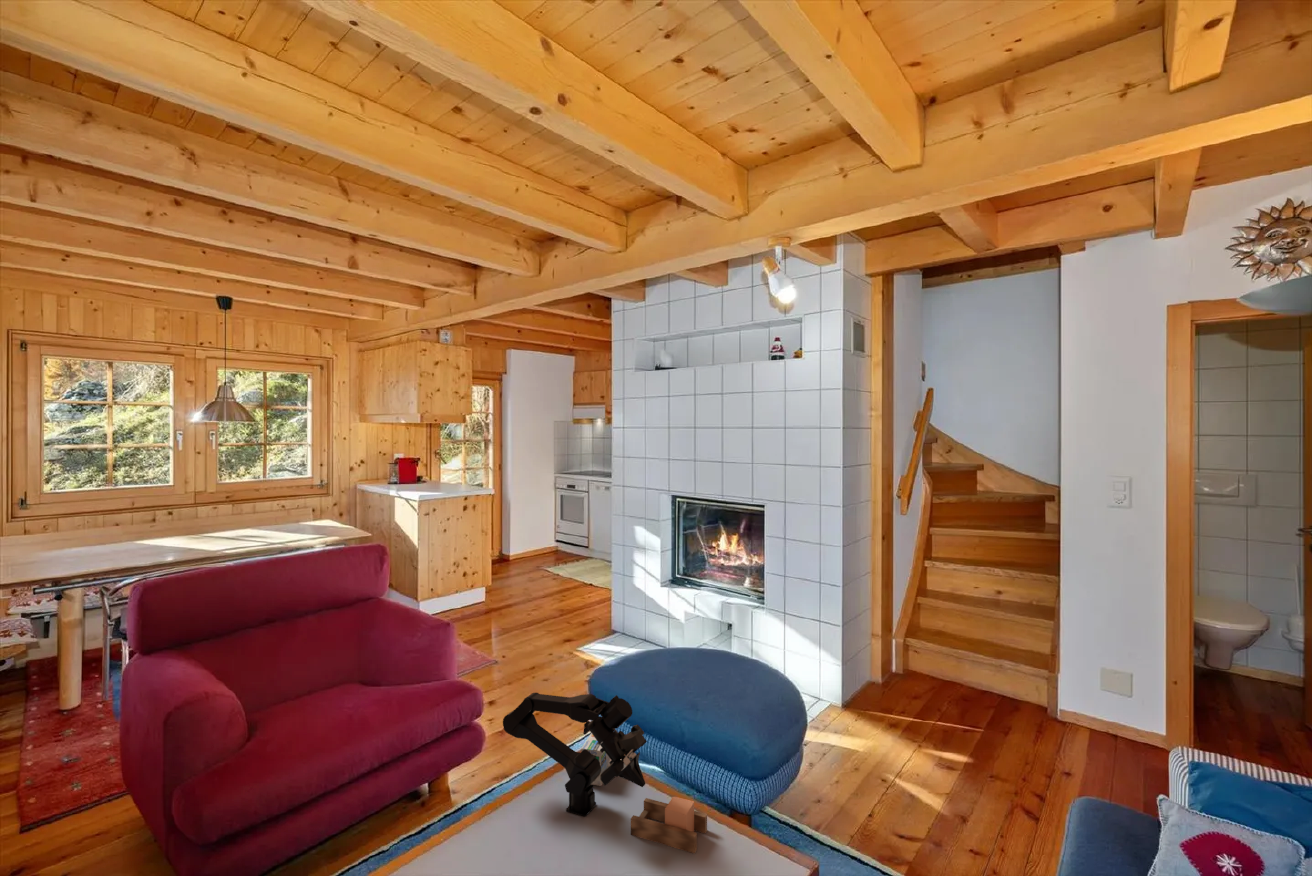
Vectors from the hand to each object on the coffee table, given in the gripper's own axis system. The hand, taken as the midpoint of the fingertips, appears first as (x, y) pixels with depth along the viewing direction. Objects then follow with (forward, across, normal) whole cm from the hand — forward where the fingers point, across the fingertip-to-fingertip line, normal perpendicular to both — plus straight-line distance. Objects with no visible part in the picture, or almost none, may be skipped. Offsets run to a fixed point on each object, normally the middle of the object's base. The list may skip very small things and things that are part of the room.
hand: (644, 785), depth 163 cm
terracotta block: (+15, 0, 0) cm, 15 cm away
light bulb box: (-9, +16, +25) cm, 31 cm away
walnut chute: (+13, 0, +3) cm, 13 cm away
